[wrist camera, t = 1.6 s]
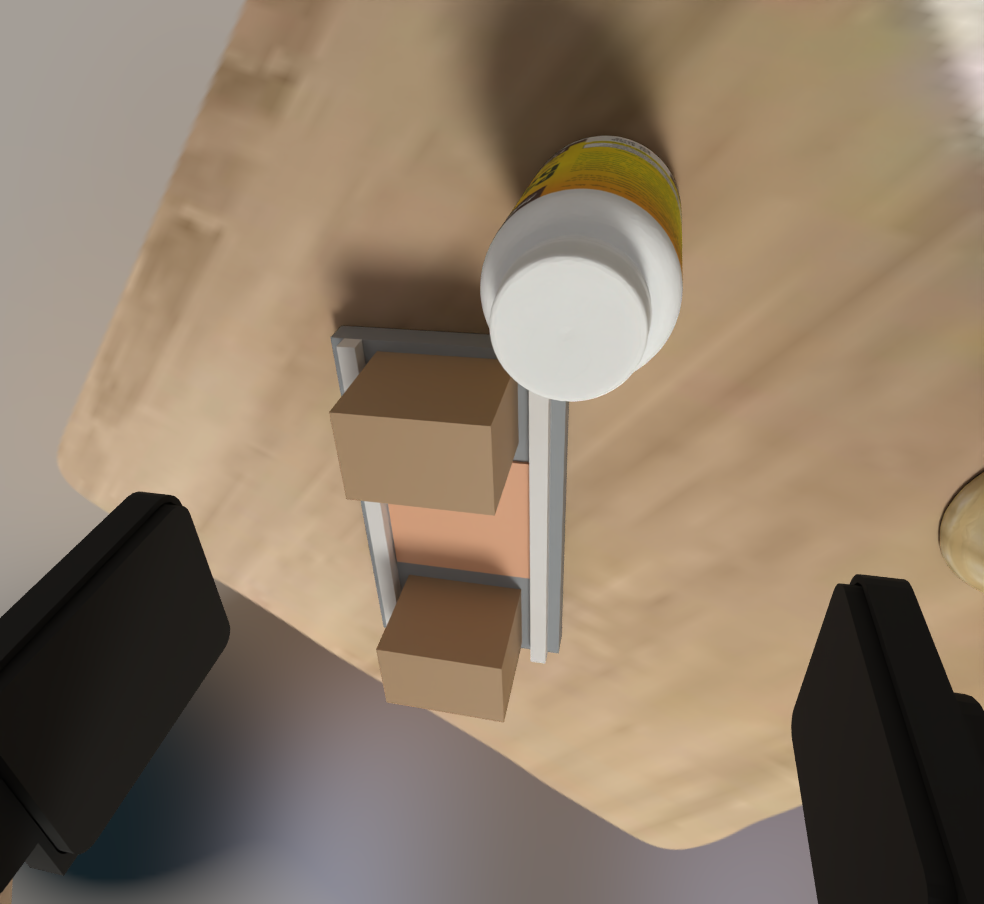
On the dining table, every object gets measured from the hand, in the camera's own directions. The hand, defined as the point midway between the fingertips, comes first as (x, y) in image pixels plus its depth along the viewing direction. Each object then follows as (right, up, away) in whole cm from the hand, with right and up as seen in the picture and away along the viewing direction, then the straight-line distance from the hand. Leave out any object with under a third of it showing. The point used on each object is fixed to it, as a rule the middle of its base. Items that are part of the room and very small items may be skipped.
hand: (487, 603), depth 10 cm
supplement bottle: (+4, +11, +15) cm, 19 cm away
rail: (-1, 0, +24) cm, 24 cm away
